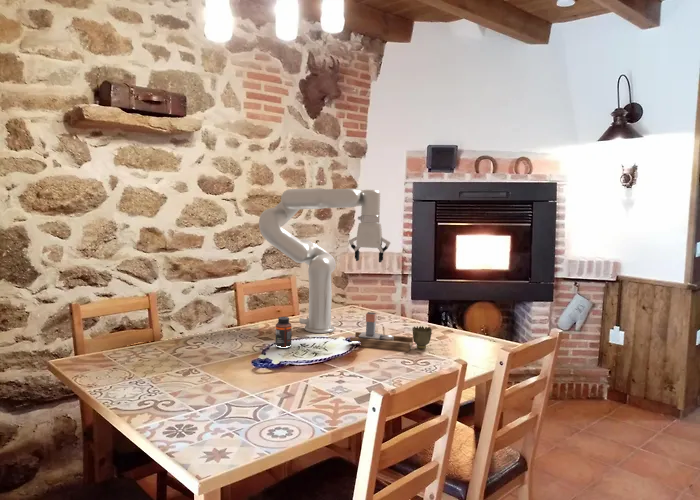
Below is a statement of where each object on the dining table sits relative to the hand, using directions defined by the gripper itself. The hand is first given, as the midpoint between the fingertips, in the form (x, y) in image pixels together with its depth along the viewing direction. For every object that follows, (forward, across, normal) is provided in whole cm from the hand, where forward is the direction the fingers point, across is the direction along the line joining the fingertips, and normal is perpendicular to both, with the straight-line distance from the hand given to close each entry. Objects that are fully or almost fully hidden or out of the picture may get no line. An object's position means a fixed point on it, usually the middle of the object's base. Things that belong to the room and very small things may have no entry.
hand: (368, 261), depth 231 cm
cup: (+31, +25, -15) cm, 42 cm away
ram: (+29, +8, -15) cm, 33 cm away
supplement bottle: (+31, -25, -32) cm, 50 cm away
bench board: (+30, +10, -15) cm, 35 cm away
